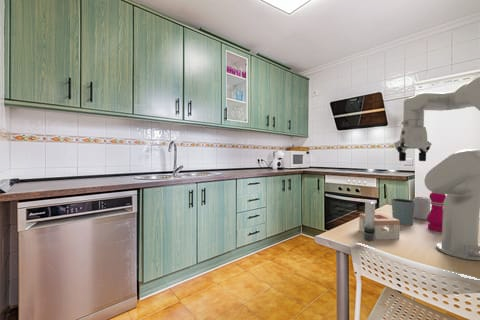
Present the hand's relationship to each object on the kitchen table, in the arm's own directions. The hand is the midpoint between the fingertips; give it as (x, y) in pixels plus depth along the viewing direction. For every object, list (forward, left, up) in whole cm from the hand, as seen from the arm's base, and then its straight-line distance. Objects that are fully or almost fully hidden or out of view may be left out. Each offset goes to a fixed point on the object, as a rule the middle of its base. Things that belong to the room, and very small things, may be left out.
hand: (412, 161), depth 102 cm
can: (+18, -24, -34) cm, 45 cm away
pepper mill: (+1, -15, -34) cm, 37 cm away
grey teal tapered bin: (+12, -7, -34) cm, 36 cm away
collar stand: (-2, +18, -33) cm, 38 cm away
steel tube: (-8, +26, -33) cm, 43 cm away
